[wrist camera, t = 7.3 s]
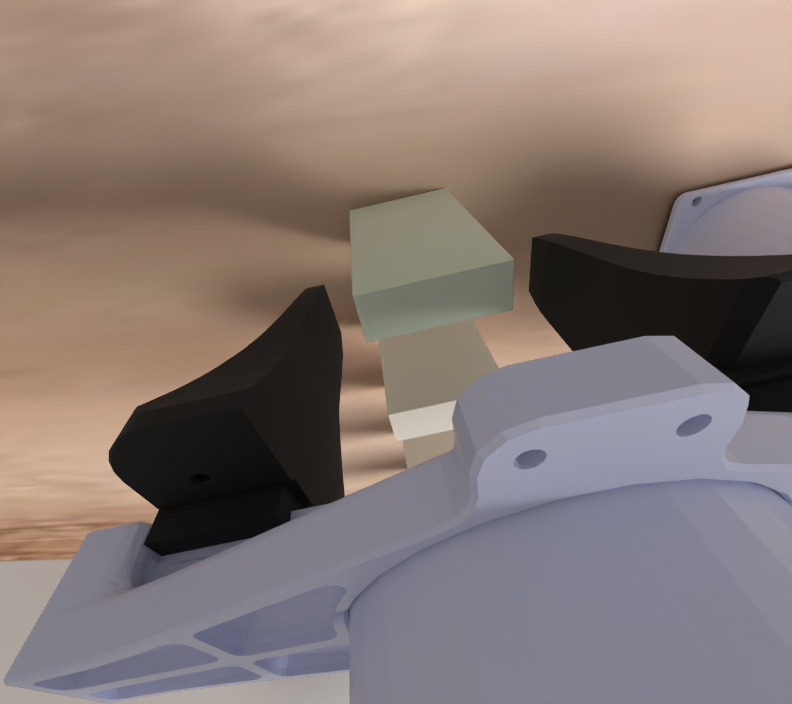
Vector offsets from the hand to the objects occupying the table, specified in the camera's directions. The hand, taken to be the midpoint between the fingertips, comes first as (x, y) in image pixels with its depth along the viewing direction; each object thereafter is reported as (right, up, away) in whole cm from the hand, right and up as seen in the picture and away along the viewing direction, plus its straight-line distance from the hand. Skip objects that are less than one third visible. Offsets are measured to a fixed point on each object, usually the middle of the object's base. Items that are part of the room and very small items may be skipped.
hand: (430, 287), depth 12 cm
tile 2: (0, +1, +9) cm, 10 cm away
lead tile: (-1, +5, +6) cm, 8 cm away
